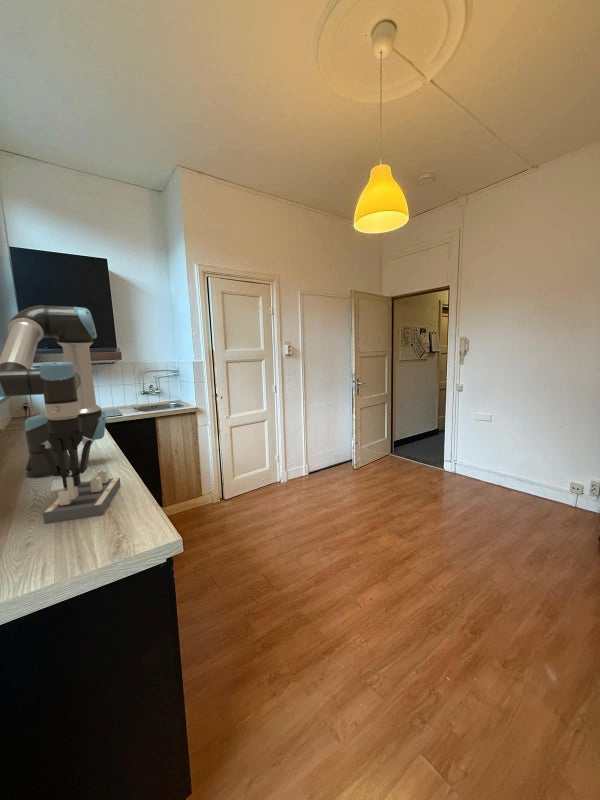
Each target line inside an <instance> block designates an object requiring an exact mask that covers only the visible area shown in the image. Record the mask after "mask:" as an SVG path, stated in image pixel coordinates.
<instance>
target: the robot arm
mask: <svg viewBox="0 0 600 800" xmlns="http://www.w3.org/2000/svg"><path fill="white" fill-rule="evenodd" d="M7 332H8V336H7V338H6V342H5V344H4V347H3V350H2V353H1V354H0V398H9V397H21V396H32V395H34V396H35V395H37V396H38V395H43V400H44V410H45V413H42V414H38V415H34V416H31V417H28V418H26V420H25V422H24V428H25V429H24V432H25V437H26V442H27V443H26V444H27V449H28V450H27V451H28V458H27V462H26V466H25V470H24V472H25V476H26V477H28V478H44V477H51V476H54V477H60V478H62V479H63V487H64V488H68V496H69V500H70V499H75V498H76V497H77V496H78V488H77V486H79V485H80V483H81V482H82V481H81V476H80V475H81V474H84V473H85V472H86V470H87V469H88V462H89V458H90V450H91V446H92V444H93V443H94V441H97V440H101V439H104V437H105V433H106V432H105V431H106V429H105V428H106V411H102V408H101V406H99V405H98V404H97V402H96V401H97V400H96V393H95V391H96V390H95V384H94V375H93V367H92V360H91V359H92V358H91V352H90V347H91V345H93V344H94V339H97V338H98V337H97V336H98V335H97V331H96V326H95V322H94V318H93V316H92V313H91V311H90V310H89V309H88V308H86V307H80V306H79V307H78V306H61V305H59V306H58V305H57V306H56V305H42V304H41V305H34V306H30V307H27V308H25V309H23V310H21V311H19V312H17V313H16V314H15V315H14V316H13V317H12V318H11V319H10V321H9V322H8V325H7ZM44 338H45V339H46V338H54V339H56V343H57V344H58V345H59V346H61V347H62V351H63V359H64V361H48V362H47V361H44V362H41V363H40V365H39V368H32V366H33V362H34V359H35V355H36V350H37V347H38V343H39V342H40V341H42V339H44ZM81 442H82V445H83V447H82V450H81V457H80V461H79V454H78V451H79V449H78V447H79V445H80V444H81ZM70 470H71V471H70ZM70 473H71V474H70Z"/></svg>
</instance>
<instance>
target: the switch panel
mask: <svg viewBox="0 0 600 800" xmlns="http://www.w3.org/2000/svg"><path fill="white" fill-rule="evenodd" d="M108 480H109V481H108V482H107V483H103V484H102V490H101V491H100V492H92V493H91V485H90V480H88V481H81V483H80V485H79V486H77V488H78V496H77V497H76V498H75V499H73V501H72V502H71V503H70V504H68V505H60V503H59V497H57V498H56V500H54V502H53V503H52V504H50V506H49V507H47V508H46V510H44V511H43V512H42V518H43V523H45V524H50V522H51V523H57V521H58V522H63V520H65V521H70V520H69V519H72V520H77V519H83V518H84V519H85V518H91V517H98V516H103V515H104V513H105V511H106V510H107V508H108V507H109V505H110V504H111V502H112V500H113V499H114V498H115V496H116V494H117V492H118V491H119V489H120V487H121V486H120V485H121V479H120V477H114V478H108ZM118 488H119V489H118ZM117 490H118V491H117ZM115 493H116V494H115Z"/></svg>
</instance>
